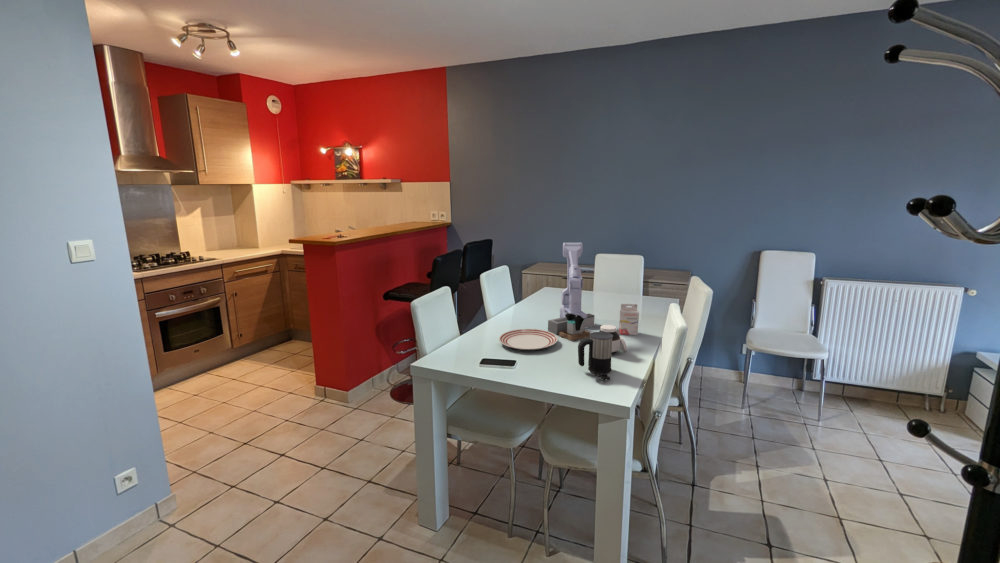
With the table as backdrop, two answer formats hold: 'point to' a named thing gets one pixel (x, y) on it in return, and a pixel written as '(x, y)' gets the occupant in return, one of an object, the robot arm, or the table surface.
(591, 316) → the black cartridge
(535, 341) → the dinner plate
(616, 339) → the spread jar
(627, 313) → the ink cartridge box
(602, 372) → the milk frother
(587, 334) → the walnut tray
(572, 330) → the teal cartridge
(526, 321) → the table surface
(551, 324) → the grey long block
